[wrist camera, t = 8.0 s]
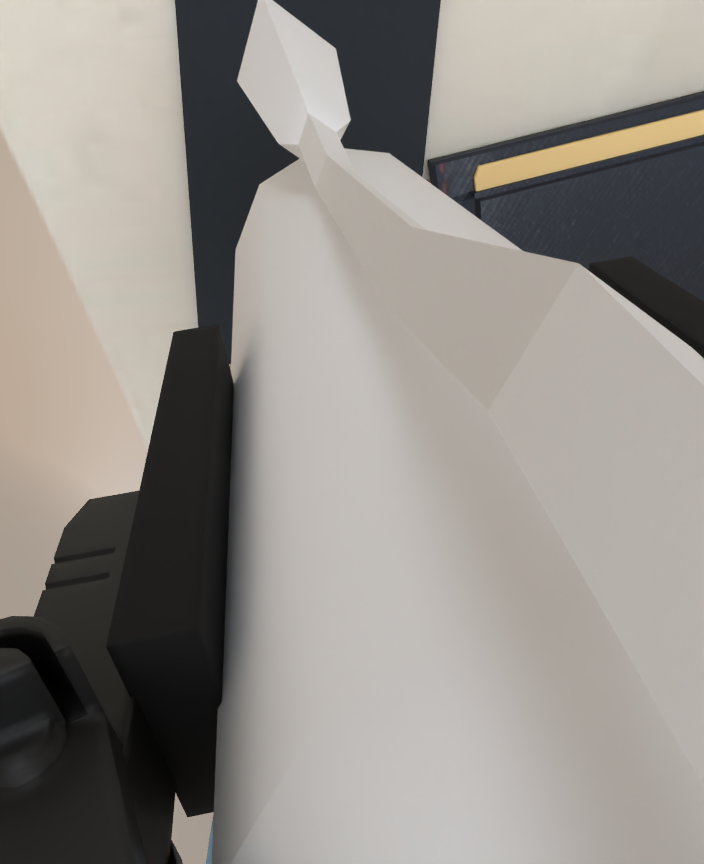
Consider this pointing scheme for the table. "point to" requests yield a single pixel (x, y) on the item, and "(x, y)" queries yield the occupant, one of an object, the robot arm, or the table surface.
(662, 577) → the fire extinguisher
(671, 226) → the wallet
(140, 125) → the table surface
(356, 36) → the mat
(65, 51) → the table surface
